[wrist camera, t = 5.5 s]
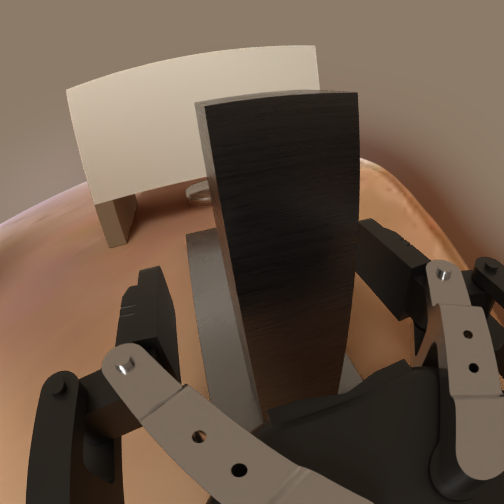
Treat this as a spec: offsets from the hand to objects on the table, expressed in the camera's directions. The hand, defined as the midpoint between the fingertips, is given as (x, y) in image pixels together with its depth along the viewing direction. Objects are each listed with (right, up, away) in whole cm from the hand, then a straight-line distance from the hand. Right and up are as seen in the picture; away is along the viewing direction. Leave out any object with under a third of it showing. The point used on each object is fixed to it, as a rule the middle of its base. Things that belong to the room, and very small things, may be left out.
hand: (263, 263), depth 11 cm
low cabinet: (-5, +6, +25) cm, 26 cm away
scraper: (-1, -3, +9) cm, 10 cm away
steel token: (-6, +7, +27) cm, 29 cm away
